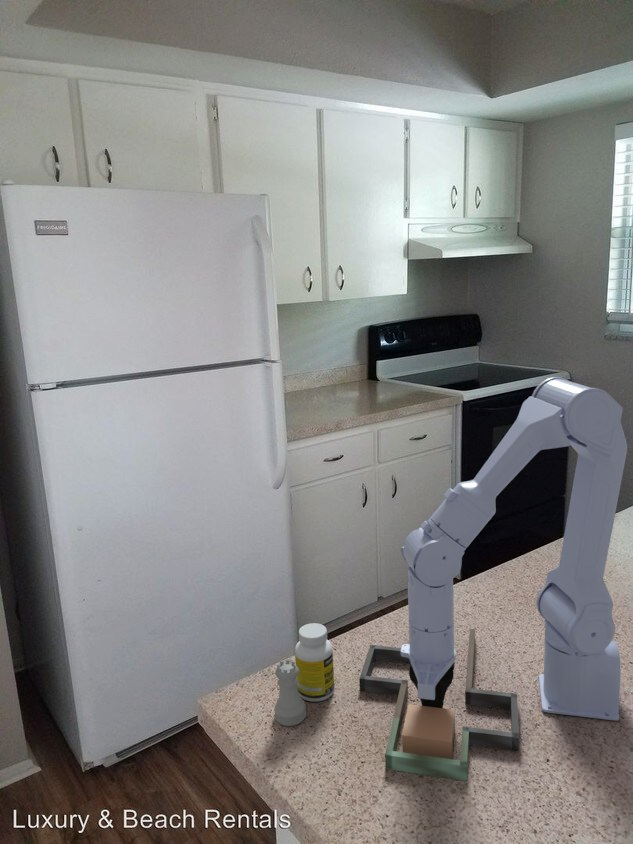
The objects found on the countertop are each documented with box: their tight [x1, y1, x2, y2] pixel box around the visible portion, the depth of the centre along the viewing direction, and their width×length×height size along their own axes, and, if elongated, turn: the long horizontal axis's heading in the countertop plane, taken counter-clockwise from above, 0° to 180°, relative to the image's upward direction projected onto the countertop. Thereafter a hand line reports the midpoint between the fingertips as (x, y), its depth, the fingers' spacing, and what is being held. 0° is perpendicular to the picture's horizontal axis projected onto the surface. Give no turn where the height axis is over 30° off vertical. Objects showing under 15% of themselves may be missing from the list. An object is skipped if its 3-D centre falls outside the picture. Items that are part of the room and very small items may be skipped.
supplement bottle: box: [294, 622, 335, 703], centre depth 92 cm, size 5×5×10 cm
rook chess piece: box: [273, 659, 308, 727], centre depth 88 cm, size 4×4×8 cm
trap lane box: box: [358, 628, 520, 782], centre depth 91 cm, size 22×30×2 cm
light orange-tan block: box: [401, 703, 456, 759], centre depth 82 cm, size 6×6×3 cm
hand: (432, 712), depth 86 cm, fingers closed
